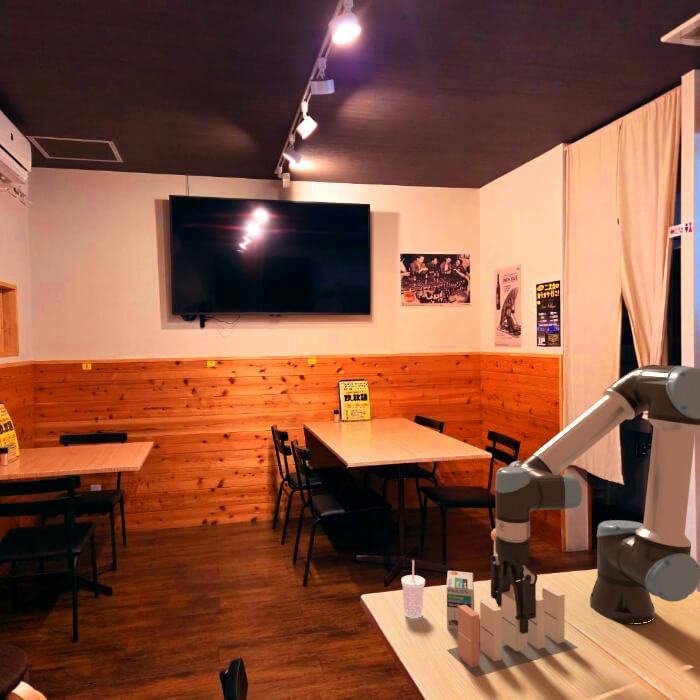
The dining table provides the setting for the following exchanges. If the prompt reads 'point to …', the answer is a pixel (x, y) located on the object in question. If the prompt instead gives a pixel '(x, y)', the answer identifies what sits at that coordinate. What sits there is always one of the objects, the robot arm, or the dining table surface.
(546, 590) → the domino
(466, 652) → the domino
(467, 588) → the light bulb box
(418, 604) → the beverage cup
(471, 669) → the slate mat
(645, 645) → the dining table surface
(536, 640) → the domino
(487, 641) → the domino
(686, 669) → the dining table surface
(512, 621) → the loose domino
